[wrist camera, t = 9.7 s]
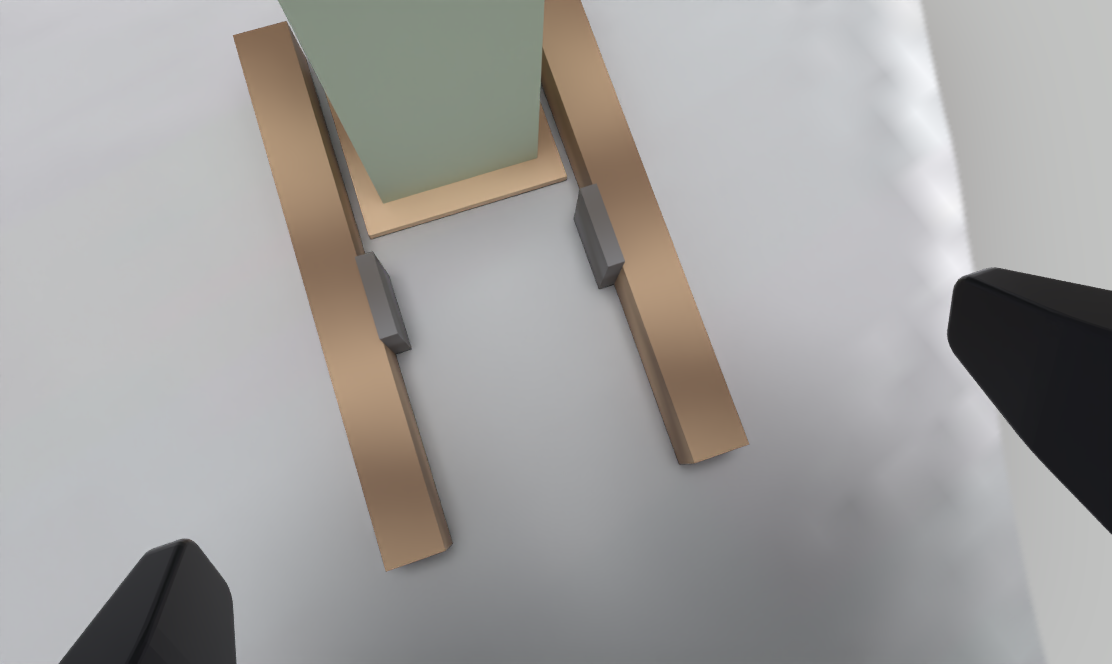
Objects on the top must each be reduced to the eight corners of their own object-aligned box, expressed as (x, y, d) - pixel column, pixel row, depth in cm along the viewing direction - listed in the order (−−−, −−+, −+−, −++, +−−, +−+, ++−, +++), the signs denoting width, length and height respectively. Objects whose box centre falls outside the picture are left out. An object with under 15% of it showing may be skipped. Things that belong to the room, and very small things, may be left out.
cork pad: (566, 179, 23) (567, 176, 23) (371, 238, 23) (368, 235, 22) (508, 17, 24) (508, 11, 24) (319, 69, 24) (316, 64, 23)
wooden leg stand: (728, 446, 22) (755, 443, 19) (398, 562, 21) (382, 574, 18) (557, -11, 25) (561, -64, 22) (257, 71, 23) (225, 25, 21)
